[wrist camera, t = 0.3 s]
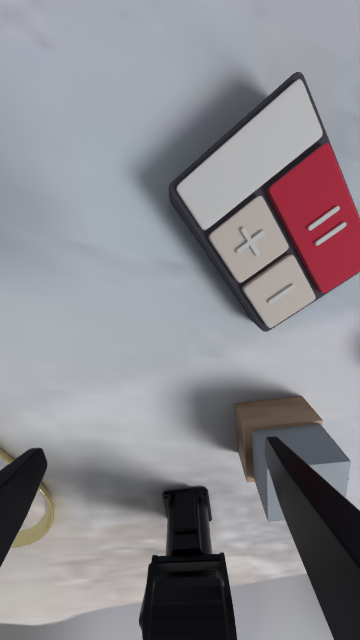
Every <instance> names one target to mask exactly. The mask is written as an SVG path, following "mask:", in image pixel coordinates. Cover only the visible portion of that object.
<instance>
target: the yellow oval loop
mask: <svg viewBox="0 0 360 640" xmlns="http://www.w3.org/2000/svg"><path fill="white" fill-rule="evenodd" d="M0 458H1V459H3V460H4V461H5V462H6V463H8V464H10V463H11V462H13V461H14V459H13V458H12V457H10V456H9V455H8V454H7V453H5V452H4V451H3V450H2V449H1V448H0ZM38 489H39V490H40V491H41V492H42V493H43V495H44V496H45V498H46V502H47V511H46V514H45V516H44V518H43V519H42V520H41V522H39V523H38V524H37V525H36V526H34V527H32V528H30V529H27V530H23V531H19V532H18V534H17V536H16V538H15V540H14V541H13V543H12V545H11V547H10V548H15V547H21V546H25V545H28V544H31V543H34V542H36V541H37V540H39V539H41V538H42V537H43V536H44V535H45V534H46V533H47V532H48V531H49V529H50V528H51V525H52V523H53V519H54V507H53V502H52V499H51V496H50V494H49V492H48V491H47V489H46V488H45V486H44V485H43V484H42V483H40V486H39V488H38Z"/></svg>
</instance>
